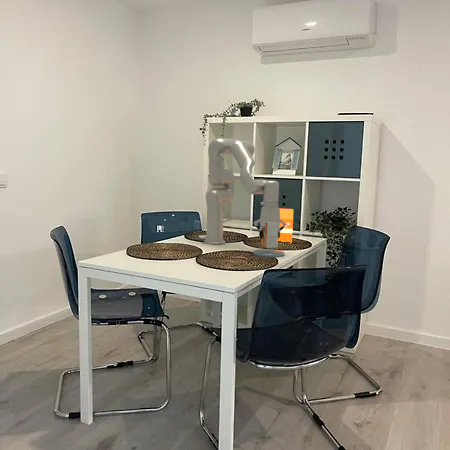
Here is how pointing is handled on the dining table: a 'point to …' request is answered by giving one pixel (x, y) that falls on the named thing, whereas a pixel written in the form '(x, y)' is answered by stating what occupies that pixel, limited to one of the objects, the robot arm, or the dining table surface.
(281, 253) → the dish
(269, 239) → the small box
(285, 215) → the orange juice
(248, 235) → the dining table surface
